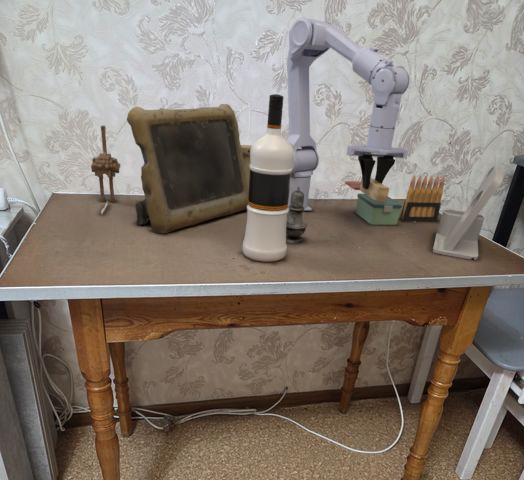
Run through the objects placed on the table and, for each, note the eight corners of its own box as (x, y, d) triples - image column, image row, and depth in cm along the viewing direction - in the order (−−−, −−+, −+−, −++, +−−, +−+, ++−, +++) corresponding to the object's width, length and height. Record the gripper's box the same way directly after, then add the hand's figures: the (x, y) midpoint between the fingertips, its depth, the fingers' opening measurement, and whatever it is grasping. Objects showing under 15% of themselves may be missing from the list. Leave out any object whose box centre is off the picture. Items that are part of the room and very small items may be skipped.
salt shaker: (298, 245, 108) (304, 191, 102) (275, 239, 111) (280, 186, 104) (309, 239, 112) (316, 186, 106) (287, 234, 115) (293, 182, 109)
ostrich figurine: (97, 197, 130) (90, 124, 121) (123, 198, 132) (117, 126, 122) (86, 214, 116) (77, 133, 107) (115, 215, 117) (108, 135, 108)
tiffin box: (370, 225, 127) (375, 201, 123) (353, 212, 137) (357, 189, 134) (398, 225, 128) (403, 201, 125) (379, 212, 138) (384, 190, 135)
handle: (231, 201, 137) (233, 144, 129) (252, 201, 139) (256, 145, 131) (234, 205, 133) (237, 147, 125) (257, 205, 135) (261, 148, 127)
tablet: (173, 238, 106) (170, 112, 93) (127, 225, 112) (118, 104, 99) (253, 210, 130) (259, 107, 118) (211, 200, 136) (213, 101, 123)
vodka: (233, 251, 102) (240, 91, 86) (268, 245, 107) (281, 92, 91) (258, 266, 96) (271, 96, 80) (294, 259, 101) (313, 97, 85)
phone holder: (436, 232, 125) (455, 159, 116) (477, 239, 122) (500, 165, 113) (432, 252, 111) (453, 170, 102) (478, 260, 108) (504, 177, 99)
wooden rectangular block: (344, 183, 126) (346, 170, 125) (362, 184, 127) (364, 171, 126) (371, 201, 111) (374, 187, 110) (391, 202, 112) (394, 188, 111)
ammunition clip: (402, 221, 132) (413, 175, 126) (399, 219, 134) (409, 174, 128) (437, 221, 135) (448, 176, 129) (433, 219, 136) (445, 175, 130)
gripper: (359, 127, 105) (348, 191, 112) (419, 131, 108) (405, 193, 115) (347, 123, 111) (338, 184, 118) (405, 127, 114) (392, 186, 121)
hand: (370, 188), depth 117 cm, fingers closed on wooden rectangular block, 2 cm apart
